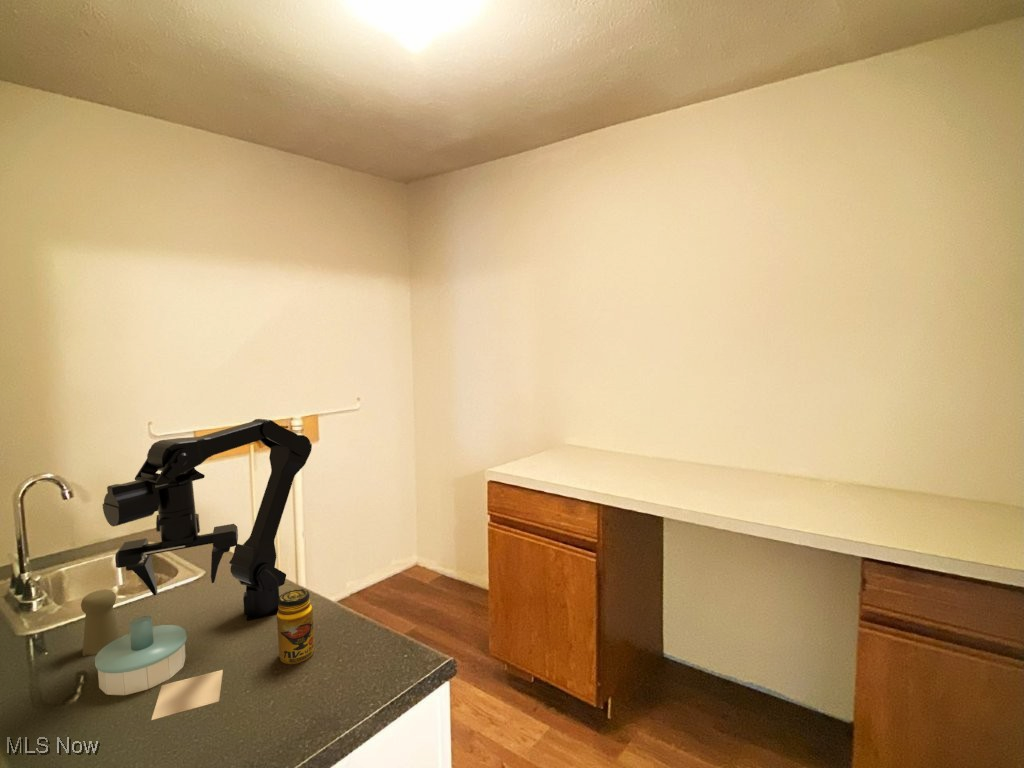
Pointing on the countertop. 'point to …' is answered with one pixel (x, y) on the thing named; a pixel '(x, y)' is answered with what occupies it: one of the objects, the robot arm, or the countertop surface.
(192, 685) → the plate
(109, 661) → the lid
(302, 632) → the condiment
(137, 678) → the bowl
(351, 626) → the countertop surface
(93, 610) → the pepper shaker
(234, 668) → the countertop surface
